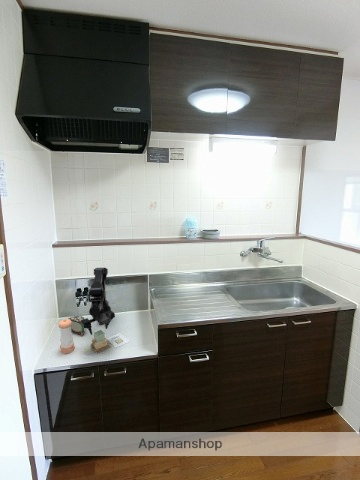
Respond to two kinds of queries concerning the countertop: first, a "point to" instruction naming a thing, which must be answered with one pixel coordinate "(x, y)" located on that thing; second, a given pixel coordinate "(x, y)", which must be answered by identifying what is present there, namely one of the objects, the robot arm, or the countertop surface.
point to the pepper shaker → (66, 336)
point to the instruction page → (117, 340)
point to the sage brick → (99, 335)
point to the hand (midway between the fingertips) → (99, 331)
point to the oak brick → (99, 343)
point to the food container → (77, 325)
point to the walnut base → (100, 348)
